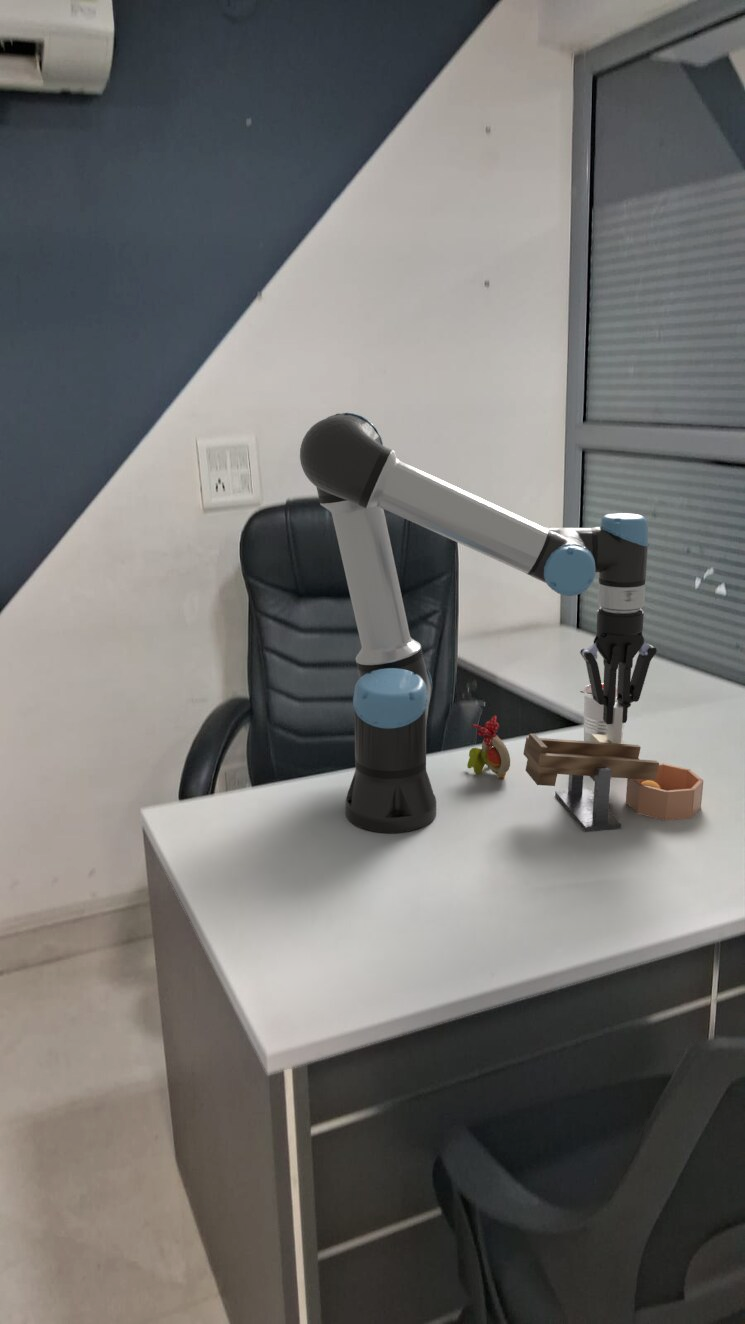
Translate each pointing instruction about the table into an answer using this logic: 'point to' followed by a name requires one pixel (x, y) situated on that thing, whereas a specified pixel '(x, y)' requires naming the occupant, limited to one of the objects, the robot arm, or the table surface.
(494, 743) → the bird rattle
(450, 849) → the table surface
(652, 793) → the terracotta octagonal bowl
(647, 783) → the ball
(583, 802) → the lever stand
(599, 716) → the white ridged hollow cylinder
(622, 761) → the lever
